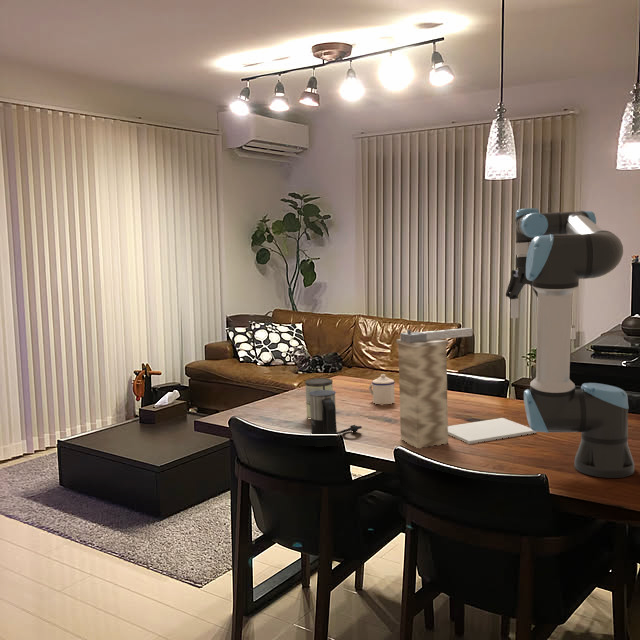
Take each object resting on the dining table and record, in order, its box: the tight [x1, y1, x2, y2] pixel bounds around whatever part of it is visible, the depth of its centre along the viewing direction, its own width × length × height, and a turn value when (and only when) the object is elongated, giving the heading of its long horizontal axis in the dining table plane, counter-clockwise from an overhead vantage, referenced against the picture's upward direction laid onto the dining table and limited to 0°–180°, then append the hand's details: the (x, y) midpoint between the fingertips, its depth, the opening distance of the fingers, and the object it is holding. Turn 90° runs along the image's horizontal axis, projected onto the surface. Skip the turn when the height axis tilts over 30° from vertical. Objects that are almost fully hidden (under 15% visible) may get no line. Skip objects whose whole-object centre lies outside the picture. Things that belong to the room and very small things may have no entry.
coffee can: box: [304, 377, 334, 418], centre depth 250 cm, size 10×10×14 cm
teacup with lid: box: [368, 373, 396, 405], centre depth 271 cm, size 12×9×12 cm
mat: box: [448, 417, 537, 445], centre depth 224 cm, size 26×18×1 cm
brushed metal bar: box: [399, 327, 473, 343], centre depth 214 cm, size 24×6×4 cm, turn 111°
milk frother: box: [309, 390, 363, 435], centre depth 227 cm, size 14×16×15 cm
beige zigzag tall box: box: [395, 339, 450, 449], centre depth 214 cm, size 12×12×33 cm
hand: (527, 319), depth 224 cm, fingers open, 13 cm apart
